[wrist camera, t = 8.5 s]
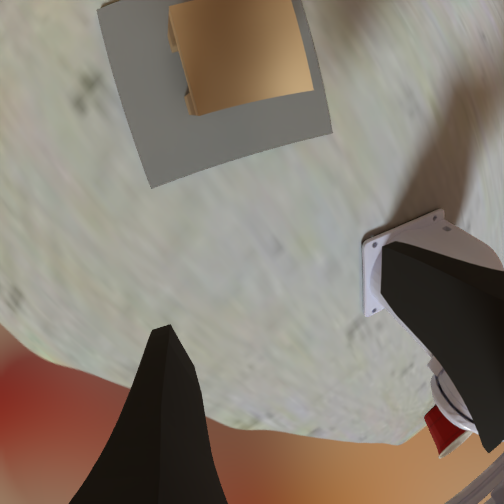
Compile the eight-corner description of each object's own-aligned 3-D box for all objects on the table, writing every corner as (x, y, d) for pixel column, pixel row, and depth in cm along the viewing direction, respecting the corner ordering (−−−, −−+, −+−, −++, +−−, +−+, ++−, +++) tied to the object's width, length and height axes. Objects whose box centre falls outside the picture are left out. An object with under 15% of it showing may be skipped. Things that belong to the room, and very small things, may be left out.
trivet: (287, -27, 11) (290, -30, 11) (328, 132, 17) (332, 133, 17) (98, 12, 10) (96, 9, 10) (151, 186, 16) (151, 188, 15)
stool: (252, 19, 12) (287, -11, 8) (271, 93, 15) (313, 90, 10) (167, 36, 12) (169, 6, 7) (189, 114, 14) (199, 115, 10)
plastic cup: (445, 391, 49) (475, 427, 38) (453, 396, 54) (478, 428, 44) (409, 424, 50) (435, 462, 40) (421, 426, 56) (444, 458, 46)
